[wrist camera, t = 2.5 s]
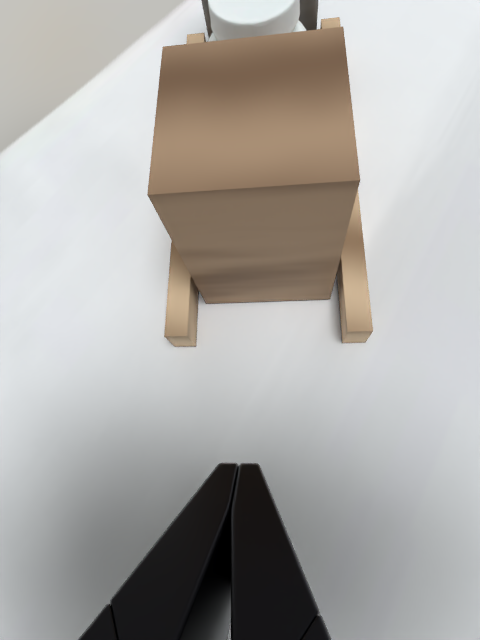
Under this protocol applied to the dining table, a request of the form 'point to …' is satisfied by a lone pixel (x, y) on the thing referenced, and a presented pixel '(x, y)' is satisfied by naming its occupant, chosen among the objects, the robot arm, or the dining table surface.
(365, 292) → the channel
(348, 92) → the block
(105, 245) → the dining table surface
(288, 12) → the supplement bottle
